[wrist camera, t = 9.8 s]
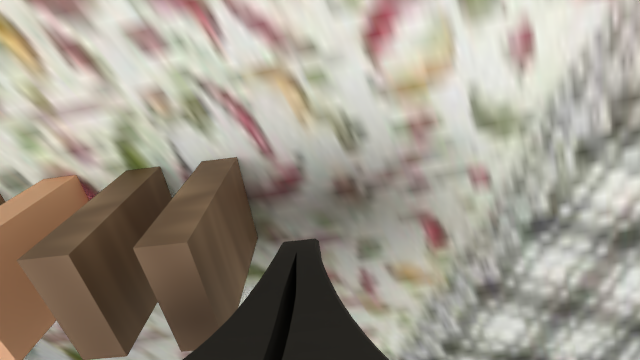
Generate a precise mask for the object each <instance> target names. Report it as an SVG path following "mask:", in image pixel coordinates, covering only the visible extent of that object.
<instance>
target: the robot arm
mask: <svg viewBox="0 0 640 360" xmlns="http://www.w3.org/2000/svg"><path fill="white" fill-rule="evenodd" d="M183 360H389V359H388V358H387V357H386V356H385V355H384V354H383V353H382V352H381V351H380V350H379V349H378V348H377V347H376V346H375V345H374V344H373V343H372V341H371V340H370V339H369V338H368V337H367V336H366V335H365V333H364V332H363V331H362V329H361V328H360V327H359V326H358V324H357V323H356V322H355V321H354V319H353V318H352V317H351V315H350V314H349V312H348V311H347V309H346V308H345V306H344V305H343V303H342V301H341V300H340V298H339V296H338V295H337V293H336V291H335V289H334V287H333V285H332V283H331V281H330V279H329V277H328V275H327V272H326V270H325V268H324V265H323V262H322V258H321V252H320V246H319V241H318V240H316V239H308V240H299V241H289V242H284V243H283V244H282V245H281V247H280V249H279V250H278V252H277V254H276V256H275V257H274V259H273V261H272V262H271V264H270V265H269V267H268V269H267V270H266V272H265V273H264V275H263V276H262V278H261V279H260V281H259V282H258V283H257V285H256V286H255V287H254V289H253V290H252V291H251V293H250V294H249V295H248V297H247V298H246V299H245V300H244V302H243V303H242V304H241V305H240V306H239V308H238V309H237V310H236V311H235V312H234V313H233V314H232V316H231V317H230V318H229V319H228V320H227V321H226V322H225V323H224V324H223V325H222V326H221V327H220V328H219V329H218V330H217V331H216V332H215V333H213V334H212V335H211V336H210V337H209V338H208V339H207V340H206V341H205V342H204V343H202V344H201V345H200V346H199V347H198V348H197V349H195V350H194V351H193V352H192V353H190V354H189V355H188V356H187V357H185V358H184V359H183Z"/></svg>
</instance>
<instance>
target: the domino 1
mask: <svg viewBox="0 0 640 360" xmlns="http://www.w3.org/2000/svg"><path fill="white" fill-rule="evenodd" d="M87 202H89V199H88V197H87V195H86V193H85V191H84V189H83V187H82V185H81V183H80V181H79V179H78V177H77V175H73V176H65V177H57V178H49V179H43V180H41V181H40V182H38V183H36V184H35V185H33V186H31V187H30V188H28V189H27V190H25V191H23V192H22V193H20V194H18V195H17V196H15V197H13V198H12V199H10V200H8V201H7V202H5V203H3V204H2V205H0V360H23V359H24V357H25V356H26V355H27V354H28V353H29V352H30V350H31V349H32V348H33V347H34V346H35V345H36V343H37V342H38V341H39V340H40V339H41V338H42V336H43V335H44V334H45V333H46V332H47V331H48V329H49V328H50V327H51V326H52V325H53V324H54V322H55V321H56V319H55V317H54V316H53V314H52V313H51V311H50V310H49V308H48V307H47V305H46V304H45V302H44V301H43V299H42V298H41V296H40V295H39V293H38V292H37V290H36V289H35V287H34V286H33V284H32V283H31V281H30V280H29V278H28V277H27V275H26V274H25V272H24V271H23V269H22V268H21V266H20V265H19V263H18V262H17V260H18V259H19V258H20V257H21V256H23V255H24V254H25V253H26V252H27V251H29V250H30V249H31V248H32V247H34V246H35V245H36V244H37V243H38V242H40V241H41V240H42V239H43V238H45V237H46V236H47V235H48V234H49V233H51V232H52V231H53V230H54V229H56V228H57V227H58V226H59V225H60V224H62V223H63V222H64V221H65V220H67V219H68V218H69V217H70V216H72V215H73V214H74V213H75V212H76V211H78V210H79V209H80V208H81V207H83V206H84V205H85V204H86V203H87Z"/></svg>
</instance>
